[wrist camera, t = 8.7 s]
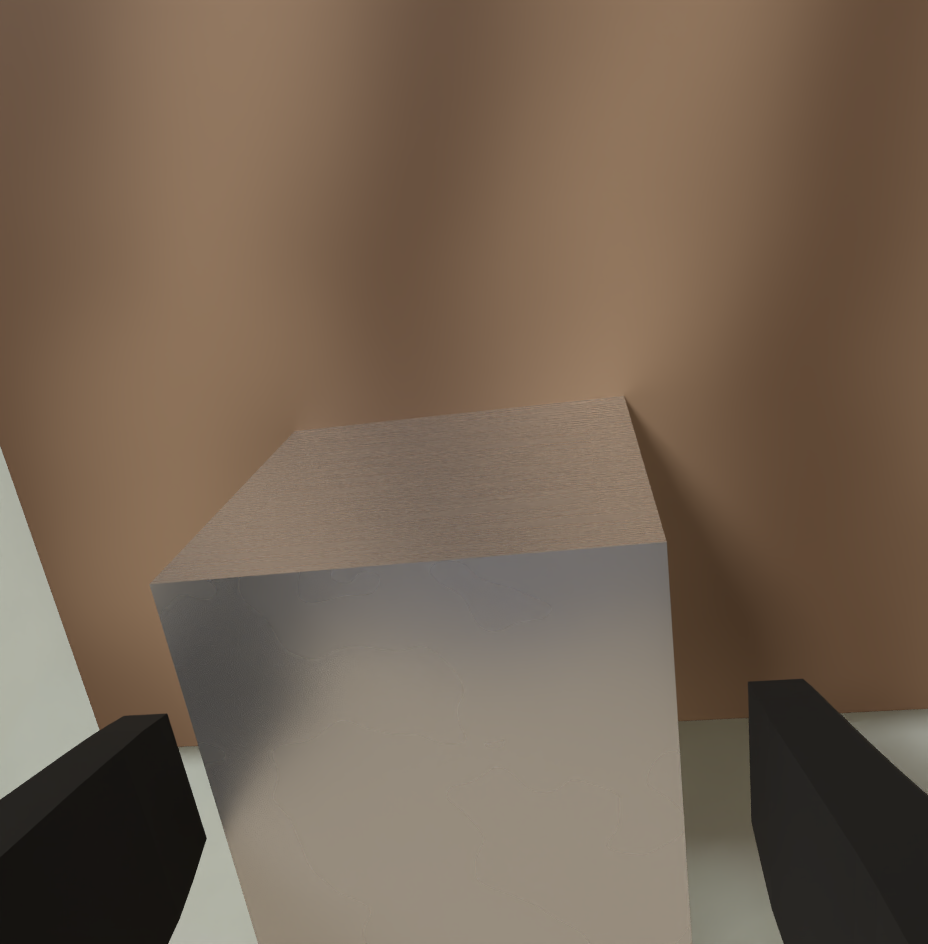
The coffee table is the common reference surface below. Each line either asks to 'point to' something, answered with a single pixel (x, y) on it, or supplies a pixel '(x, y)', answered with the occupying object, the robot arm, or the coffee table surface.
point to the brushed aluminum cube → (441, 683)
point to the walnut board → (480, 291)
